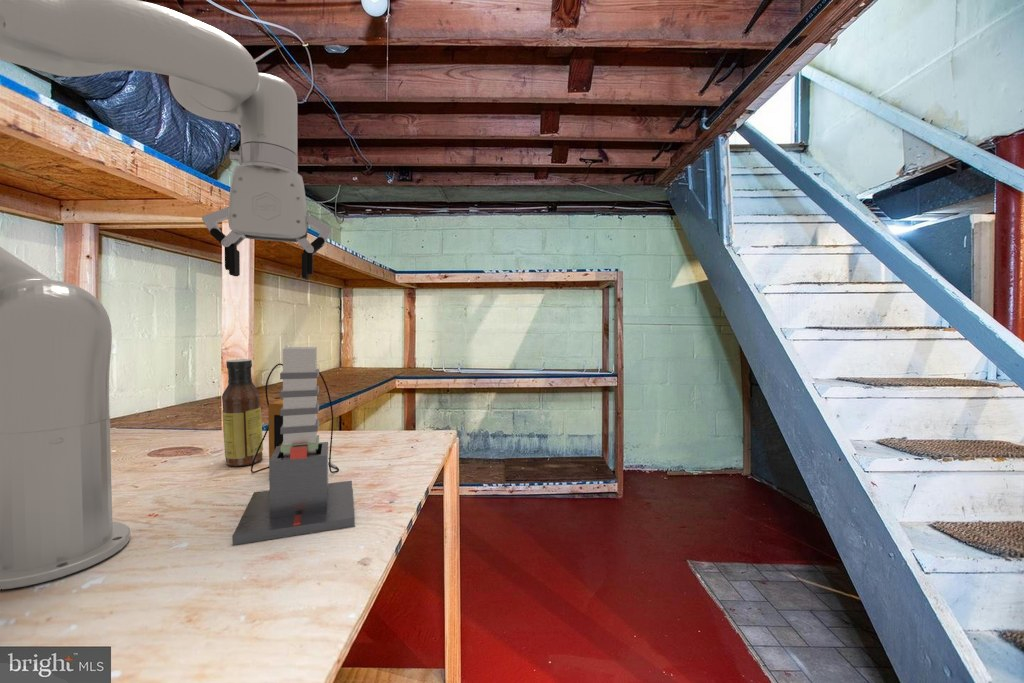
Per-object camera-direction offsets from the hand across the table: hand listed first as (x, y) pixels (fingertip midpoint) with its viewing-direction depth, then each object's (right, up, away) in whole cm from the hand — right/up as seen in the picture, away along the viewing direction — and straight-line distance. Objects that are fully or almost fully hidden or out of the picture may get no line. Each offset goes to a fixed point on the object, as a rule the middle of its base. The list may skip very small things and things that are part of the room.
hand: (270, 277), depth 65 cm
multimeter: (-2, -34, +14) cm, 37 cm away
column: (+7, -27, -5) cm, 28 cm away
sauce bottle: (-14, -34, +16) cm, 40 cm away
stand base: (+7, -35, -4) cm, 36 cm away
